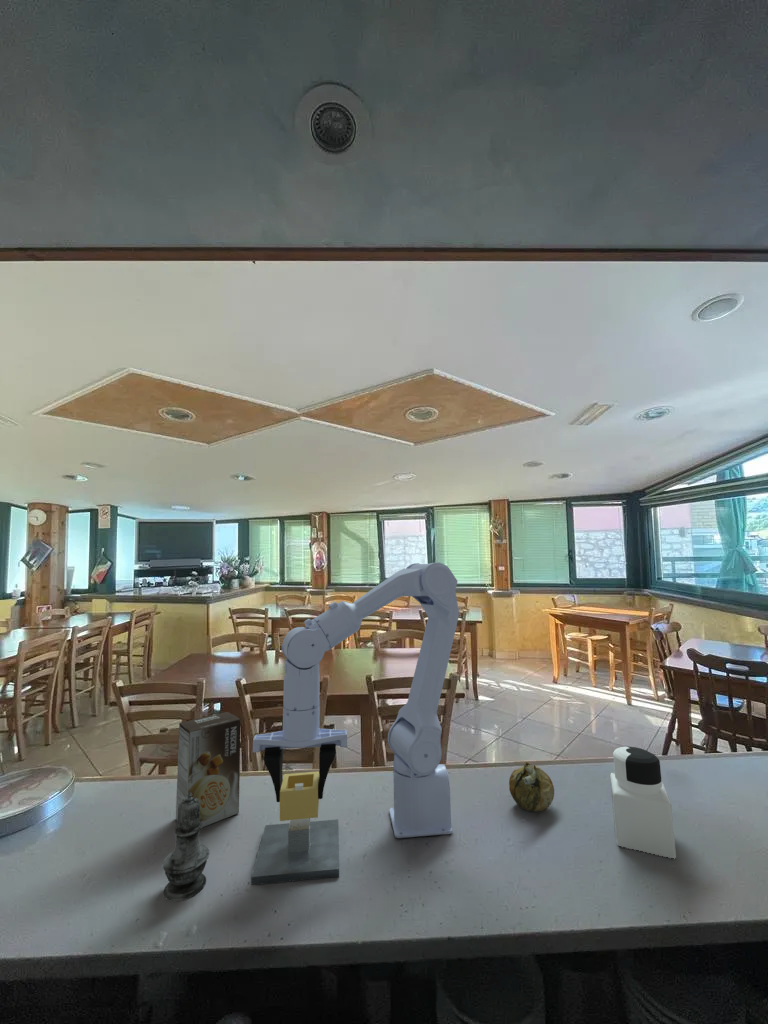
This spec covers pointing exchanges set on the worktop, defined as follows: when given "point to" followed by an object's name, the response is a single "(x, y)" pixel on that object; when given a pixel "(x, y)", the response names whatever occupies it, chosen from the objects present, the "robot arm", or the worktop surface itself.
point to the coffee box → (210, 765)
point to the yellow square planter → (299, 796)
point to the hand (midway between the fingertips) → (300, 797)
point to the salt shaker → (186, 854)
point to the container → (641, 803)
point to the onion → (531, 788)
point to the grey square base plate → (298, 852)
